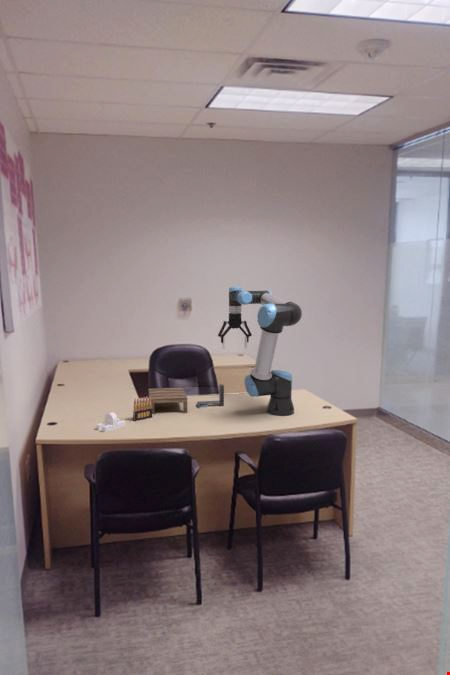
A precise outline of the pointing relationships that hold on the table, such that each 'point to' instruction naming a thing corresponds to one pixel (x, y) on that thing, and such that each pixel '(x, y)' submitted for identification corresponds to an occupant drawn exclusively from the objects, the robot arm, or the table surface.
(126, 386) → the table surface
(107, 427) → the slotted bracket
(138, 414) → the ammunition clip
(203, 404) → the puck
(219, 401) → the hook tool
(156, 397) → the bench
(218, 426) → the table surface
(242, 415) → the table surface
